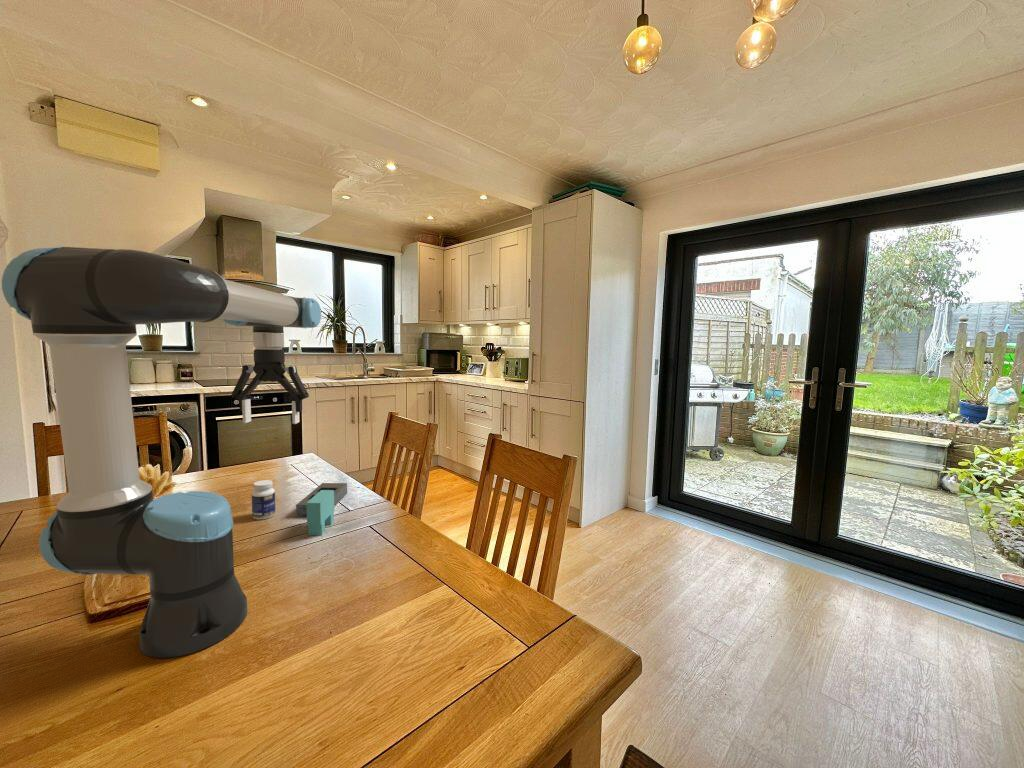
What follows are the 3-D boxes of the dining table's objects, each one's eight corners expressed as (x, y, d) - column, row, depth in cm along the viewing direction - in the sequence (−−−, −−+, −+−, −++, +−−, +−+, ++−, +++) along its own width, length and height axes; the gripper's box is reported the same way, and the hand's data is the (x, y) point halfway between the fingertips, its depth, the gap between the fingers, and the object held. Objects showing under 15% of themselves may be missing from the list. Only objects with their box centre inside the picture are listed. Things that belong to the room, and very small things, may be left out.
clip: (321, 536, 106) (320, 502, 105) (307, 536, 106) (306, 502, 105) (334, 520, 115) (333, 490, 114) (321, 520, 115) (321, 490, 114)
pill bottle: (267, 520, 114) (266, 486, 113) (247, 520, 114) (246, 485, 113) (279, 512, 120) (278, 479, 119) (260, 511, 120) (259, 478, 119)
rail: (324, 516, 117) (324, 505, 117) (296, 516, 117) (296, 504, 117) (347, 493, 135) (347, 483, 135) (322, 493, 135) (322, 482, 134)
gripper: (319, 349, 119) (321, 420, 121) (231, 347, 118) (234, 419, 120) (308, 350, 112) (310, 425, 114) (214, 347, 110) (217, 424, 112)
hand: (271, 422), depth 117 cm, fingers open, 13 cm apart
